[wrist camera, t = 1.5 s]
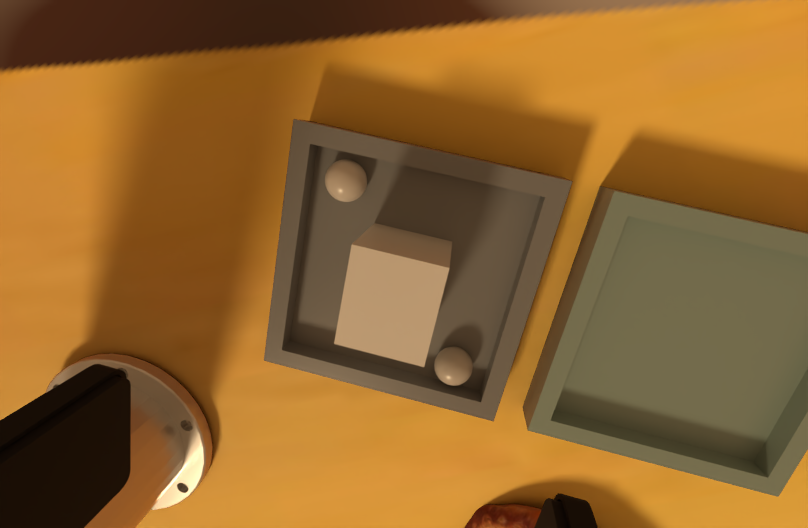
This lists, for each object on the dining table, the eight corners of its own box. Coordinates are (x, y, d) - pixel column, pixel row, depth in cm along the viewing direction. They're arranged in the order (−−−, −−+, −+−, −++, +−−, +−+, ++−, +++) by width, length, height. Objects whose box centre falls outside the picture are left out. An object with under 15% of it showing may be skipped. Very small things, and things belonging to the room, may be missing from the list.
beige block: (431, 323, 25) (424, 367, 20) (358, 304, 25) (334, 343, 20) (452, 241, 23) (449, 268, 18) (374, 223, 23) (351, 244, 19)
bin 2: (752, 467, 26) (778, 496, 23) (522, 407, 26) (527, 430, 24) (878, 248, 21) (924, 260, 19) (600, 185, 22) (614, 190, 20)
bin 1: (491, 399, 27) (494, 426, 24) (279, 343, 27) (260, 364, 25) (562, 177, 22) (574, 182, 20) (308, 120, 23) (289, 118, 21)
